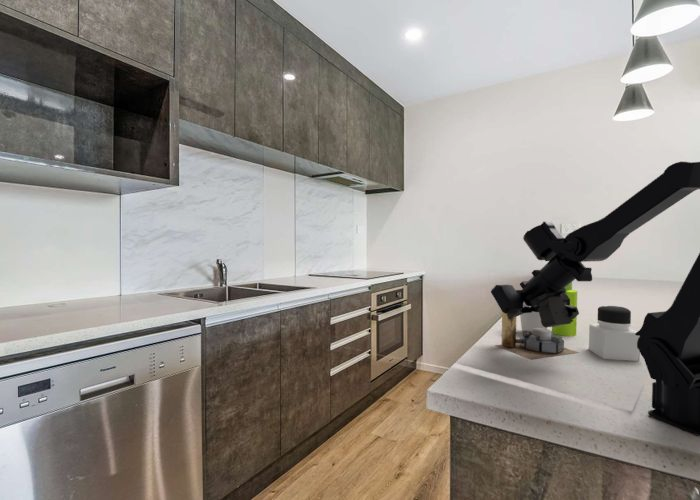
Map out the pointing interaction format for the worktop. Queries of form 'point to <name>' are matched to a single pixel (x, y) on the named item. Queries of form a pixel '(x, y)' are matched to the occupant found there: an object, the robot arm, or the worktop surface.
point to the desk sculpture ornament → (528, 338)
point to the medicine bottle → (614, 335)
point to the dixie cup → (531, 321)
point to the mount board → (532, 354)
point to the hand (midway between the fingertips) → (508, 317)
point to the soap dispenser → (571, 328)
